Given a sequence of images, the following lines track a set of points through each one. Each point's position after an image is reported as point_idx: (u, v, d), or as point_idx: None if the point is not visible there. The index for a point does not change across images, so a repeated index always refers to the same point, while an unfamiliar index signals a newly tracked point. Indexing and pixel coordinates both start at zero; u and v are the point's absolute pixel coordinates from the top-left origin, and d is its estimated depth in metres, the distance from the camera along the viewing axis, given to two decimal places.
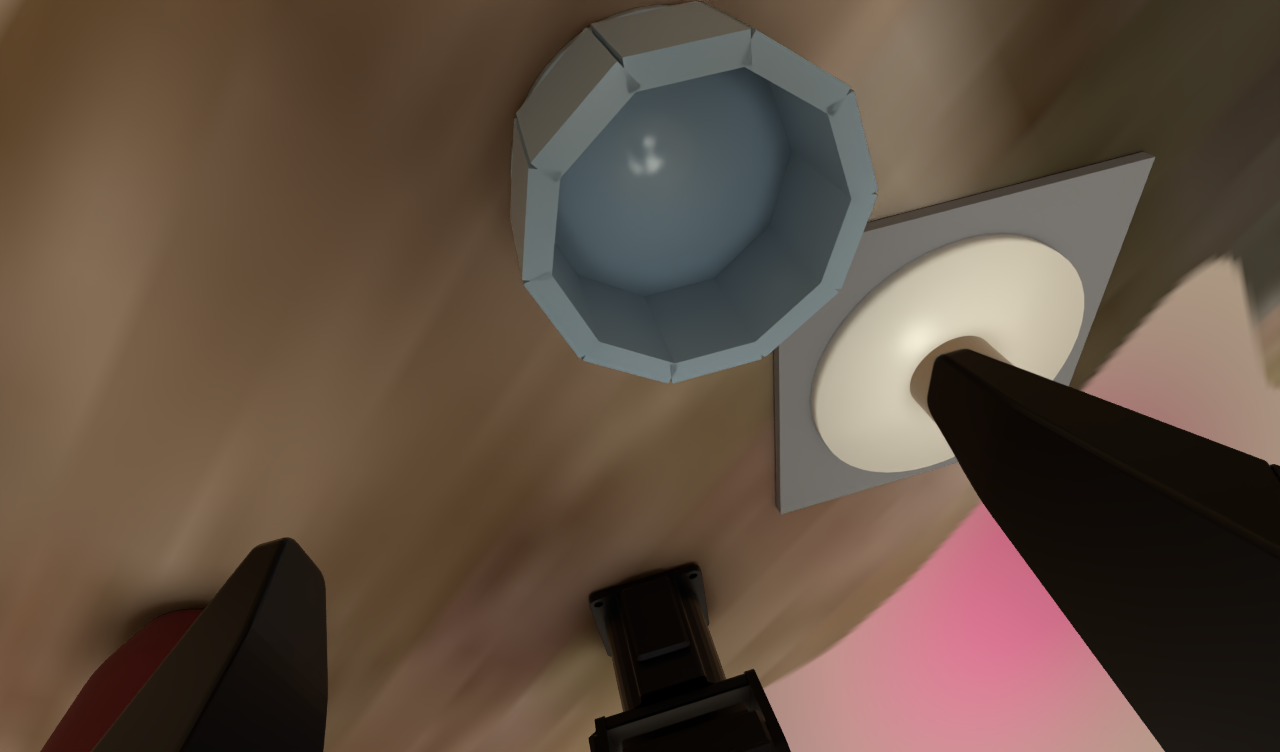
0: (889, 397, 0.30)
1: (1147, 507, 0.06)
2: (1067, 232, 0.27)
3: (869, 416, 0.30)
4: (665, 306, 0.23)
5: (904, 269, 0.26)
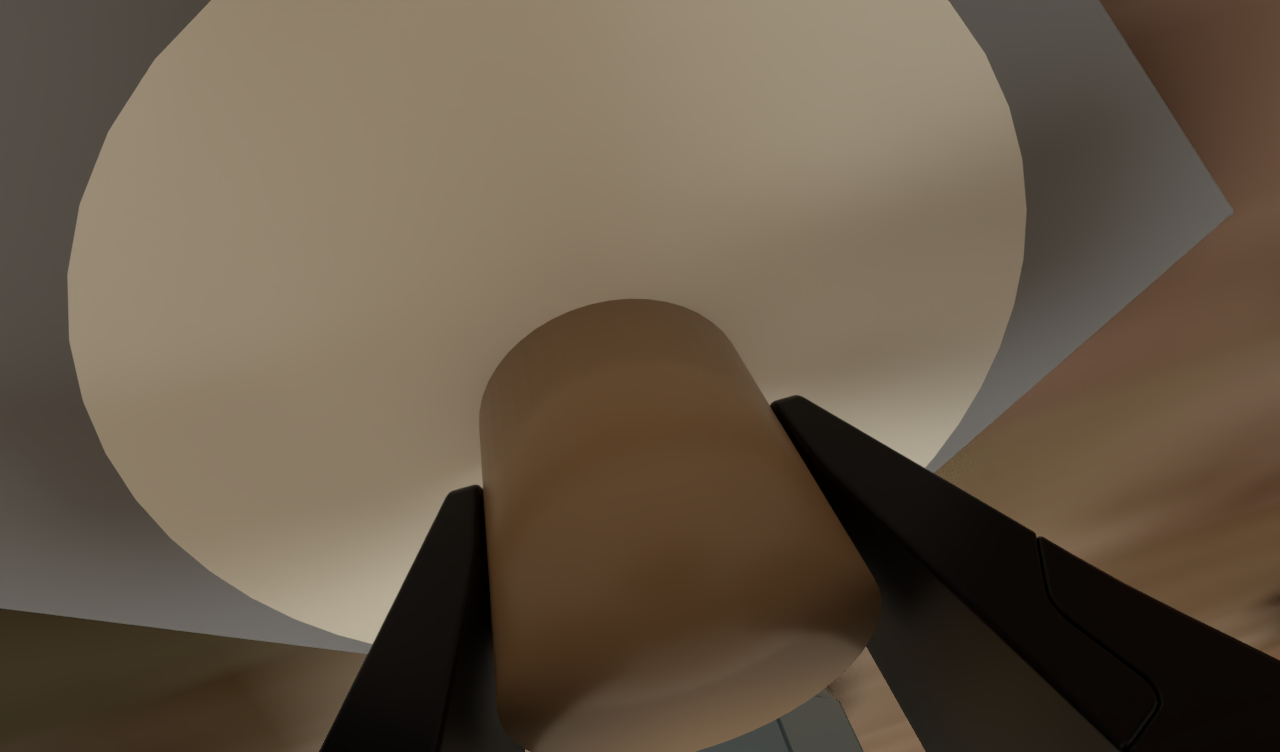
0: None
1: (917, 579, 0.06)
2: (146, 526, 0.10)
3: None
4: None
5: None
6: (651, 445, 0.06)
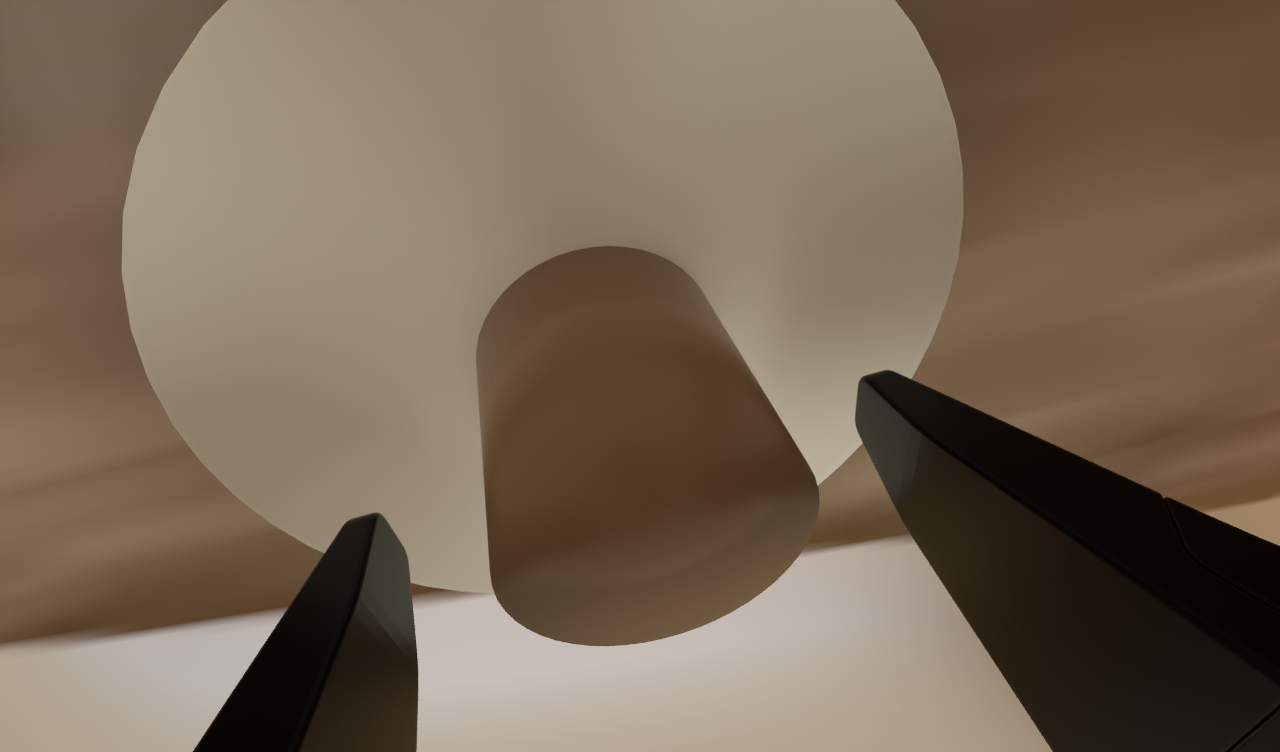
0: None
1: (1042, 540, 0.06)
2: None
3: (809, 374, 0.12)
4: None
5: None
6: (620, 355, 0.07)
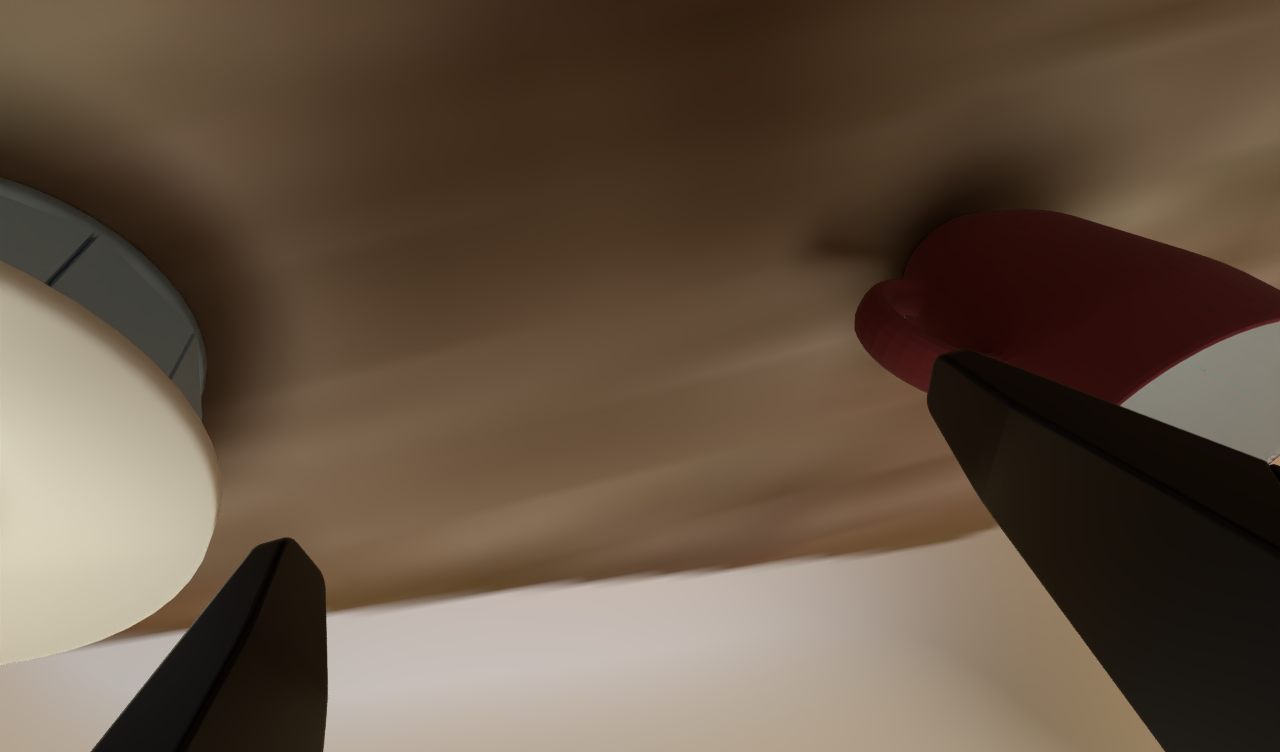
0: (30, 515, 0.14)
1: (1147, 507, 0.06)
2: None
3: (90, 499, 0.14)
4: None
5: None
6: None
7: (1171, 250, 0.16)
